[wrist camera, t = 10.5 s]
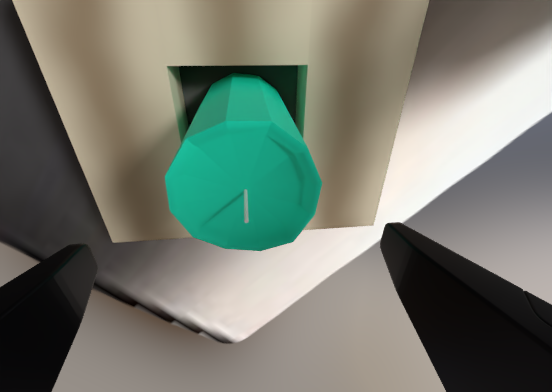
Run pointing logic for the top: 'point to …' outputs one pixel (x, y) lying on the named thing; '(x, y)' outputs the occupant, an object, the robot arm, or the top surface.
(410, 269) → the robot arm
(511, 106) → the top surface
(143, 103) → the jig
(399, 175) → the top surface
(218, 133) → the candle
